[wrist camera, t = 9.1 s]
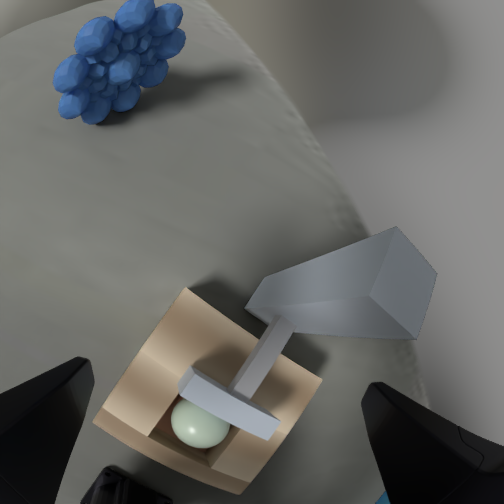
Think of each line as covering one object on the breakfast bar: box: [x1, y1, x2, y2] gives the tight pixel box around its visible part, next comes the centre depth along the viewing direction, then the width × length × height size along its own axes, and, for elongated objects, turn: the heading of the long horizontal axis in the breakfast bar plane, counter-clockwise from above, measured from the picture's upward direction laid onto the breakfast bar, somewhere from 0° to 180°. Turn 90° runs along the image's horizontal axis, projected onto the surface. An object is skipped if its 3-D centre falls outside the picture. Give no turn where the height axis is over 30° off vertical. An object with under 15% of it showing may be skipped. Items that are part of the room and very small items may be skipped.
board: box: [93, 287, 322, 495], centre depth 17 cm, size 12×12×3 cm
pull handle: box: [177, 227, 437, 441], centre depth 14 cm, size 10×6×14 cm, turn 146°
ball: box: [171, 398, 230, 448], centre depth 16 cm, size 4×4×4 cm
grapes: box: [53, 0, 186, 125], centre depth 16 cm, size 12×7×12 cm, turn 128°
